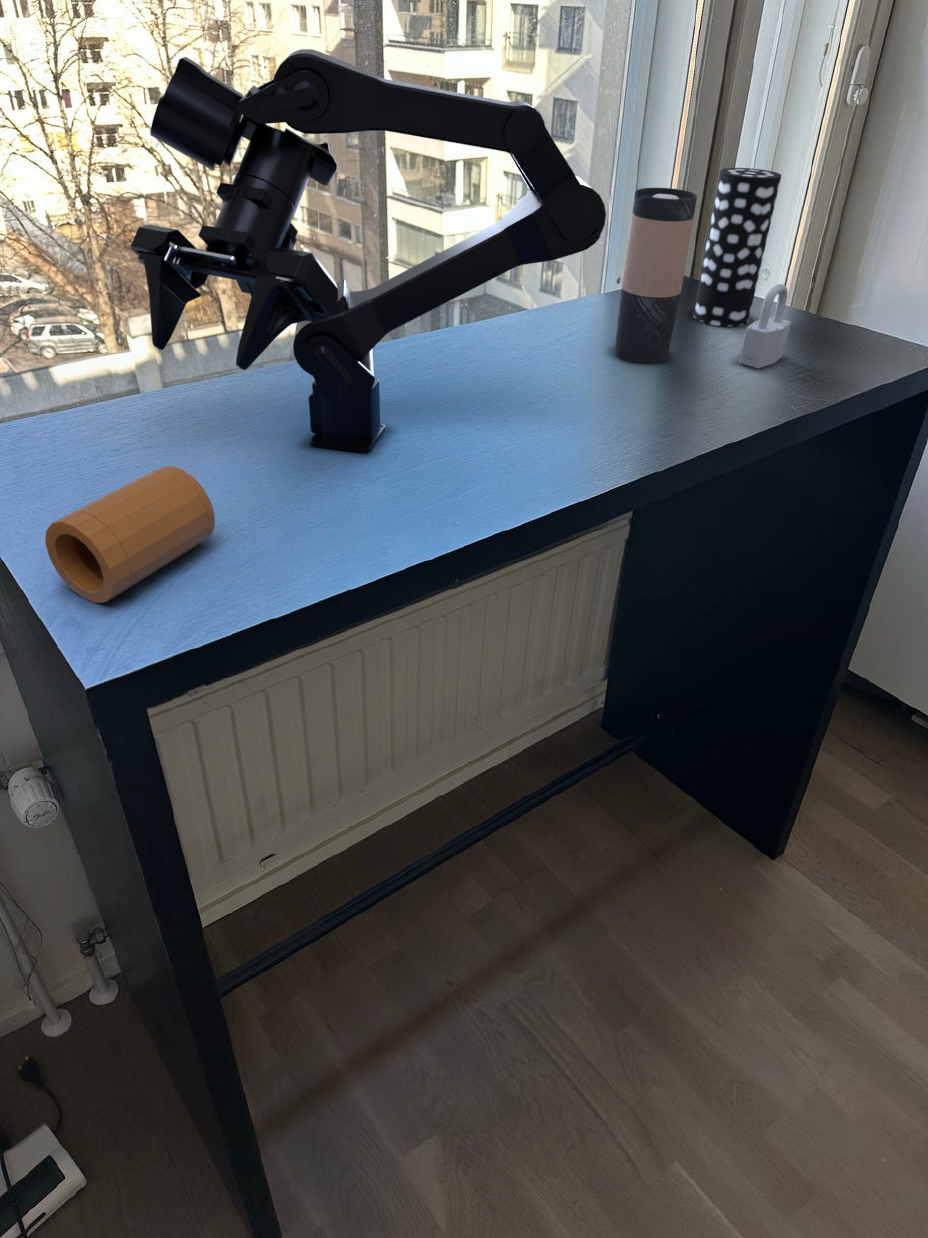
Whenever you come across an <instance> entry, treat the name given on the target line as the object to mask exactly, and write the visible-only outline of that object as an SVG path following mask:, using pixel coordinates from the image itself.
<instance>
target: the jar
mask: <svg viewBox="0 0 928 1238" xmlns="http://www.w3.org/2000/svg"><path fill="white" fill-rule="evenodd" d="M215 518H216V517H215V512H214V508H213V504H212V502H211V500H210V498H209V496H208V494H207V491H206V490H205V489H204V488H203V487H202V485H201V483H199V482H198V480H196V478H195V477H193V476H192V475H191V474H190V473H188V471H186V470H184V469H182V468H179V467H177V466H171V465H167V466H166V465H165V466H162V467H160V468H158V469H156V470H153V471H150V472H149V473H147V474H145V475H142V476H141V477H139V478H137V479H135V480H133V481H130V482H129V483H127V484H125V485H123V486H121V487H119V488H117V489H115V490H113V491H111V492H110V493H108V494H105V495H103V496H101V497H100V498H98V499H96V500H94V501H92V502H90V503H88V504H86V505H83V506H82V507H80V508H79V509H76V510H74V511H72V512H71V513H69V514H67V515H65V516H62V517H61V518H59V519H57V520H54V521H53V522H51V524H50V525H49V526H48V527H47V529H46V531H45V547H46V551H47V553H48V557H49V560H50V562H51V563H52V566H53V567H54V569H55V571H56V573H57V574H58V576H59V577H60V578H61V580H62V581H63V582H64V583H65V584H66V586H68V587H69V588H70V590H72V591H73V592H74V593H76V594H77V595H78V596H79V597H80V598H83V599H84V600H87V601H89V602H91V603H93V604H103V603H108V602H109V601H111V600H112V599H114V598H115V597H117V596H119V595H120V594H123V592H125V591H127V590H128V589H130V588H131V587H133V586H135V585H136V584H138V583H139V582H141V581H143V580H144V579H146V578H148V577H149V576H150V575H152V574H154V573H155V572H157V571H158V570H160V569H162V568H163V567H165V566H166V565H168V564H170V563H171V562H173V561H174V560H176V559H177V558H179V557H181V556H183V555H184V554H186V553H187V552H189V551H190V550H192V549H194V548H195V547H197V546H199V545H200V544H202V542H203V541H206V540H207V539H209V537H210V536H211V535H212V534H213V532H214V529H215V524H216V519H215Z"/></svg>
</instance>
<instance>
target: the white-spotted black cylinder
mask: <svg viewBox="0 0 928 1238" xmlns="http://www.w3.org/2000/svg"><path fill="white" fill-rule="evenodd" d="M782 176H783V175H782V174H781V173H779V172H776V171H772V170H766V169H761V168H760V169H759V168H751V167H725V168H722V169H720V171H719V177H718V179H717V187H716V190H715V197H714V202H713V207H712V212H711V217H710V222H709V228H708V233H707V238H706V244H705V248H704V254H703V255H704V256H703V259H702V265H701V270H700V274H699V280H698V286H697V292H696V296H695V301H694V307H693V311H692V317H693V318H694V319H695V320H696V321H699V322H700V323H703V324H707V325H711V326H716V327H725V328H726V327H727V328H728V327H729V328H730V327H732V328H733V327H741V326H746V325H747V324H748V323H749V321H750V320H749V319H750V316H751V311H752V307H753V303H754V298H755V294H756V290H757V284H758V280H759V276H760V272H761V267H762V262H763V258H764V254H765V249H766V245H767V241H768V237H769V233H770V228H771V225H772V219H773V215H774V210H775V207H776V202H777V197H778V193H779V189H780V185H781V179H782Z"/></svg>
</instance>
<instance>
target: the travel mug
mask: <svg viewBox="0 0 928 1238" xmlns="http://www.w3.org/2000/svg"><path fill="white" fill-rule="evenodd" d="M697 198H698V196H697V194H696V193H694V192H691V191H689V190H688V191H687V190H684V189H679V188H670V187H642V188H640V189H636V190H635V192H634V199H633V206H632V212H631V213H632V214H631V219H630V226H629V232H628V239H627V247H626V253H625V260H624V266H623V273H622V279H621V289H620V296H619V304H618V305H619V306H618V312H617V313H618V315H617V322H616V323H617V324H616V331H615V332H616V334H615V342H614V344H615V345H614V355H615V356H616V357H617V358H618V359H621V360H623V361H625V362H628V363H634V364H640V365H655V364H660V363H663V362H664V361H666V360H667V359H668V355H669V351H670V347H671V342H672V336H673V332H674V328H675V323H676V319H677V312H678V307H679V303H680V299H681V294H682V289H683V282H684V277H685V270H686V265H687V259H688V252H689V248H690V247H689V246H690V240H691V234H692V229H693V228H692V227H693V223H694V216H695V210H696V205H697V201H698V199H697Z"/></svg>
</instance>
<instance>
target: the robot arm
mask: <svg viewBox="0 0 928 1238" xmlns="http://www.w3.org/2000/svg"><path fill="white" fill-rule="evenodd" d="M280 123H286V125H287V126H288V127H290V128H291V129H293V130H294V131H296V132H299V133H302V134H306V135H329V134H331V135H332V134H333V135H334V134H353V133H362V132H374V131H379V132H380V131H383V132H384V131H385V132H389V133H396V134H401V135H406V136H407V135H408V136H413V137H419V138H424V139H430V140H436V141H442V142H446V143H447V142H448V143H453V144H459V145H465V146H469V147H477V148H481V149H488V150H493V151H500V152H505V153H508V154H509V156H510V158H511V160H512V161H513V163H514V165H515V167H516V169H517V170H518V172H519V174H520V176H521V177H522V179H523V181H524V182H525V184H526V185H527V187H528V189H529V192H528V193H526V194H525V195H523V196H522V198H520V199H519V200H518V202H516V204H515V205H513V206H512V208H511V209H509V210H508V212H506V214H505V215H504V216H503V217H502V218H501V219H500V220H498V221H497V222H495V223H493V224H492V225H490V226H488V227H486V228H484V229H482V230H480V231H478V232H476V233H475V234H472V235H471V236H469V237H467V238H465V239H463V240H461V241H459V242H458V243H455V244H453V245H452V246H450V247H448V248H446V249H444V250H442V251H440V252H438V253H437V254H435V255H433V256H431V257H429V258H427V259H425V260H424V261H421V262H420V263H418V264H416V265H413V266H412V267H409V268H408V269H406V270H405V271H402V272H401V273H399V274H397V275H394V276H393V277H391V278H390V279H387V280H385V281H383V282H381V283H380V284H377V285H376V286H374V287H372V288H369V289H363V290H357V291H350V289H349V287H348V284H347V281H346V279H342V280H340V281H338V282H337V283H336V281H335V280H334V279H333V278H332V275H330V274H329V272H328V271H327V270H326V268H325V267H324V265H323V264H322V263H321V262H320V261H319V259H318V258H317V257H316V256H315V254H314V253H313V252H309V251H304V250H298V249H295V246H296V243H297V241H298V237H297V235H298V233H299V231H298V230H297V228H296V226H295V225H294V224H293V223H292V222H293V219H294V216H295V215H296V212H297V209H298V207H299V205H300V201H301V200H302V197H303V195H304V192H305V190H306V188H307V185H308V182H309V180H310V178H311V179H312V180H314V181H316V182H317V183H319V184H321V185H322V186H329V184H330V182H331V181H332V180H333V178H334V176H335V174H336V172H337V171H338V164H337V161H336V159H335V158H334V156H333V155H332V153H331V150H330V145H329V143H327V142H322V143H313V142H311V141H309V140H307V139H305V138H304V137H302V136H300V135H298V134H297V133H295V132H294V131H292V130H291V129H289V128H288V127H285V129H284V130H282V129H280V128H276V127H273V126H271V124H280ZM268 124H269V125H268ZM149 133H150V134H149V135H150V136H151V137H153V138H154V139H156V140H158V141H159V142H162V143H163V144H165V145H167V146H168V147H170V148H171V149H174V150H176V151H177V152H179V153H180V154H183V155H184V156H186V157H188V158H189V159H191V160H193V161H195V162H196V163H197V164H200V165H202V166H203V167H206V168H207V169H209V170H211V171H212V172H214V171H215V169H216V168H217V166H218V167H222V165H223V164H224V165H225V166H227V167H231V166H232V164H233V161H234V160H235V157H236V155H237V152H238V150H239V147H240V144H241V142H242V140H243V138H244V139H246V140H247V141H248V144H247V147H246V149H245V151H244V154H243V155H242V158H241V161H240V163H239V165H238V168H237V170H236V173H235V175H234V177H233V180H232V182H231V183H226V182H219V185H218V187H217V190H216V191H215V193H216V195H217V196H218V197H219V198H220V199H221V200H222V202H223V204H222V206H221V208H220V212H219V213H218V216H217V217H216V220H215V223H214V225H213V226H210V225H205V224H202V225H201V227H200V229H199V233H198V235H197V236H198V237H199V238H200V239H201V240H202V241H203V242H204V244H206V246H205V249H201V248H200V249H199V248H197V247H196V246H195V245H194V244H193V243H192V242H191V241H190V240H189V239H188V238H187V237H186V236H185V235H184V234H183V232H181V231H180V230H179V229H177V228H171V227H167V226H166V227H165V226H160V225H156V224H145V225H142V226H138V228H137V230H136V232H135V234H134V237H133V240H132V242H131V244H130V250H131V251H132V252H133V253H134V254H135V255H136V256H137V261H138V262H139V263H140V264H141V265H143V266H144V272H145V276H146V285H147V291H148V301H149V313H150V324H151V325H150V328H151V340H152V341H151V342H152V345H153V346H154V347H155V348H156V349H158V350H159V351H164V350H165V348H166V347H167V345H168V343H169V341H170V340H171V338H172V336H173V334H174V332H175V329H176V327H177V326H178V324H179V321H180V319H181V317H182V314H183V313H184V311H185V308H186V306H187V304H188V303H189V302H191V301H194V300H196V299H198V298H201V297H202V294H201V292H199V290H197V289H199V288H200V287H202V286H203V285H205V284H206V282H207V280H208V277H209V276H213V277H219V278H224V279H230V280H234V281H236V283H237V285H238V288H239V289H240V291H241V293H243V294H244V293H245V294H249V295H250V301H249V305H248V308H247V312H246V316H245V319H244V323H243V327H242V331H241V335H240V339H239V342H238V346H237V352H236V359H235V365H236V366H237V367H238V368H239V369H240V370H243V371H246V370H248V368H250V367H251V365H252V364H253V363H254V362H255V361H256V360H257V359H258V358H259V357H260V356H261V355H262V353H264V351H265V350H266V349H267V348H268V347H269V346H270V345H271V344H272V343H273V342H274V341H275V340H276V339H277V337H278V336H279V335H281V333H283V332H284V331H285V330H286V329H287V328H289V327H290V326H291V325H294V324H296V325H295V330H294V336H293V337H294V338H293V342H292V349H293V356H294V358H295V360H296V363H297V365H298V366H299V367H300V368H301V369H302V370H303V371H304V372H305V373H307V374H309V375H310V376H311V377H313V379H314V381H313V382H312V383H311V388H312V390H311V391H312V392H311V393H310V394H309V396H308V409H309V411H308V412H309V424H310V432H311V433H312V434H313V435H312V436H311V437H310V439H309V445H310V446H313V447H320V448H327V449H334V450H341V451H348V452H349V451H350V452H357V453H370V452H371V450H372V449H373V448H374V446H375V444H376V443H377V442H378V441H379V439H380V438H381V437H382V435H383V434H384V433H385V431H386V425H385V424H382V423H381V397H380V393H381V391H380V379H378V378H376V377H375V375H376V374H375V359H374V348H375V347H376V346H377V345H378V344H379V343H380V341H381V340H382V339H383V338H384V337H385V336H387V335H388V334H389V333H391V332H392V331H395V330H396V329H398V328H400V327H402V326H404V325H406V324H409V322H412V321H413V320H416V319H418V318H419V317H422V316H423V315H426V314H427V313H429V312H431V311H433V310H435V309H437V308H439V307H441V306H443V305H445V304H446V303H449V302H450V301H453V300H454V299H456V298H458V297H461V296H462V295H464V294H466V293H467V292H470V291H472V290H474V289H476V288H478V287H480V286H482V285H484V284H486V283H487V282H489V281H491V280H493V279H495V278H498V277H500V276H501V275H503V274H505V273H507V272H509V271H511V270H513V269H515V268H517V267H521V266H525V265H533V264H537V263H545V262H552V261H556V260H559V259H562V258H566V257H568V256H572V255H575V254H578V253H582V252H584V251H587V250H588V249H589V248H591V247H592V246H594V245H595V244H596V243H597V242H598V241H599V239H600V238H601V236H602V233H603V230H604V228H605V225H606V219H607V211H606V206H605V205H606V204H605V202H604V201H603V199H602V197H601V195H600V194H599V193H598V192H597V191H596V190H595V189H594V188H592V187H591V186H590V185H589V184H588V183H587V182H585V181H584V180H583V179H582V178H581V177H580V176H577V175H576V174H575V172H574V171H573V169H572V168H571V166H570V164H569V163H568V161H567V160H566V158H565V157H564V155H563V153H562V152H561V150H560V149H559V147H558V145H557V144H556V142H555V140H554V139H553V137H552V136H551V134H550V132H549V131H548V129H547V126H546V123H545V120H544V118H543V115H542V113H540V111H538V110H537V109H536V107H533V105H531V104H530V103H528V102H525V101H522V100H515V101H505V100H499V99H494V98H489V97H483V96H478V95H474V94H467V93H462V92H458V91H457V92H456V91H451V90H446V89H442V88H441V89H439V88H435V87H430V86H425V85H419V84H413V83H407V82H402V81H397V80H392V79H387V78H384V77H382V76H379V75H377V74H374V73H371V72H369V71H367V70H365V69H363V68H361V67H358V66H356V65H354V64H351V63H349V62H347V61H344V60H342V59H339V58H337V57H333V56H331V55H329V54H326V53H324V52H321V51H318V50H316V49H311V48H307V49H306V48H305V49H304V48H302V49H298V50H295V51H294V52H291V53H290V54H289V55H288V56H287V57H285V58H284V59H283V61H282V62H281V63H279V66H278V67H277V69H276V72H275V73H274V75H273V79H271V80H269V81H267V82H265V83H263V84H262V85H259V86H258V87H257V86H256V85H252V86H251V87H250V88H249V89H248V90H247V92H246V93H245V94H244V93H242V92H239V91H238V90H236V89H235V88H233V87H232V86H230V85H228V84H226V83H225V82H224V81H221V80H220V79H218V78H217V77H215V76H213V75H212V74H210V73H209V72H207V71H206V70H205V69H204V68H203V67H202V66H201V65H200V64H198V63H197V62H195V61H194V60H192V59H191V58H189V57H188V56H183V57H181V58H179V59H178V61H177V65H176V68H175V70H174V72H173V74H172V75H171V78H170V80H169V82H168V85H167V87H166V89H165V92H164V94H163V95H162V96H160V97H159V100H158V103H157V105H156V109H155V111H154V115H153V118H152V121H151V126H150V132H149Z"/></svg>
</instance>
